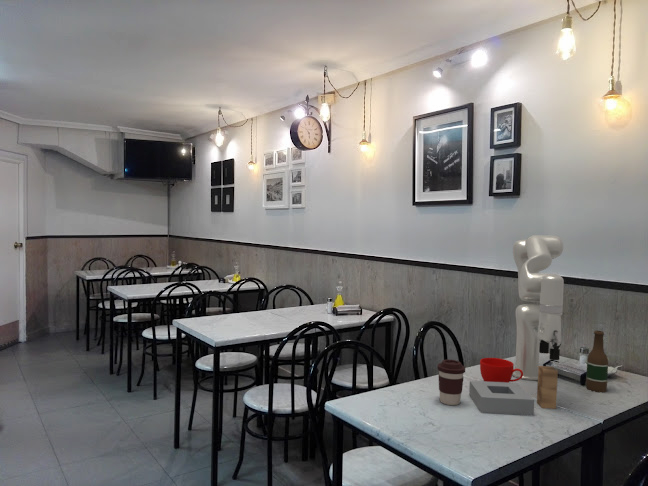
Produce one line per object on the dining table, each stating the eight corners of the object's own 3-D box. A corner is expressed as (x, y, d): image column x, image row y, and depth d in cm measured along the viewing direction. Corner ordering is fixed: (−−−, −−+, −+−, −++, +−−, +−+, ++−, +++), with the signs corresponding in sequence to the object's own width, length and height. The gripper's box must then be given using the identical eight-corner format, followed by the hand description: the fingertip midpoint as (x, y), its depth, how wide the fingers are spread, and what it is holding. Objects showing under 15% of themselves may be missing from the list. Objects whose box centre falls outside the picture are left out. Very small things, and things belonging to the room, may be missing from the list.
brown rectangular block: (536, 403, 184) (538, 366, 183) (550, 403, 184) (552, 366, 183) (541, 408, 179) (543, 370, 178) (555, 408, 179) (557, 370, 178)
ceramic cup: (517, 396, 191) (518, 370, 190) (474, 386, 201) (475, 362, 201) (526, 388, 201) (527, 363, 201) (485, 379, 211) (486, 355, 211)
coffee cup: (464, 408, 177) (466, 366, 176) (436, 405, 179) (438, 364, 178) (462, 398, 186) (464, 359, 186) (435, 396, 188) (437, 357, 188)
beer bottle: (611, 393, 198) (614, 333, 197) (591, 392, 198) (594, 333, 197) (600, 386, 205) (603, 329, 204) (581, 386, 206) (584, 328, 204)
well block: (469, 394, 191) (469, 380, 191) (516, 397, 190) (517, 383, 190) (480, 412, 173) (481, 397, 173) (533, 415, 172) (534, 399, 172)
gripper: (531, 305, 189) (530, 350, 189) (549, 313, 171) (547, 362, 172) (552, 306, 188) (550, 351, 189) (572, 314, 171) (569, 363, 171)
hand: (548, 356), depth 180 cm, fingers open, 9 cm apart
